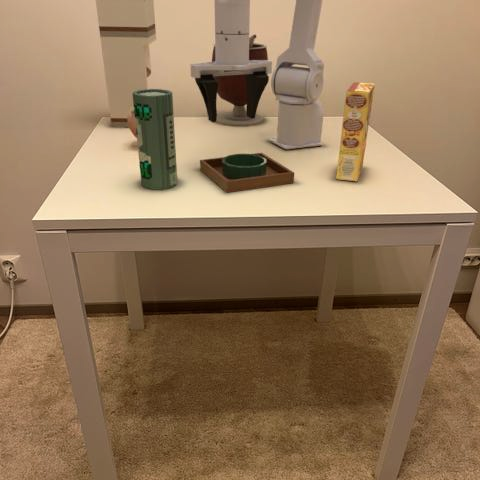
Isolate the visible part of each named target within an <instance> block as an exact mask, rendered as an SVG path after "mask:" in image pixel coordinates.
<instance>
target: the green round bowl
mask: <svg viewBox="0 0 480 480" xmlns="http://www.w3.org/2000/svg"><path fill="white" fill-rule="evenodd" d="M253 154H254V153H234V154H228V155H226V156H223V157H224V158H223V160H222V172H223V175H224V176H225V177H227V178H230V179H233V180H236V179H243V178H250V177H258V176H265V175H266V166H267V161H266V159H265V158H263V157H262V156H259V155H253Z"/></svg>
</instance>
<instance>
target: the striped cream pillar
mask: <svg viewBox="0 0 480 480" xmlns="http://www.w3.org/2000/svg"><path fill="white" fill-rule="evenodd" d="M95 6H96V13H97V21H98V23H97V24H98V30H99V38H100V44H101V53H102V62H103V69H104V77H105V83H106V84H105V86H106V92H107V101H108V109H109V117H110V125H111V128H129V125H128V121H127V117H128V113H129V111H130V109H131V108H132V107H133V106H134V104H133V94H132V93H133V92H134V91H138V90H144V89H149V86H148V85H149V84H148V78H149V77H150V76H151V75H152V66H151V65H152V64H151V52H150V44H152V43H153V42H154V43H155V41H157V32H156V31H157V29H156V17H155V15H156V14H155V2H154V0H95Z"/></svg>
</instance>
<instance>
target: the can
mask: <svg viewBox="0 0 480 480" xmlns="http://www.w3.org/2000/svg"><path fill="white" fill-rule="evenodd" d="M132 94H133V104H134V114H135V124H136V134H137V138H136V143H137V153H138V162H139V172H140V183H141V186H142V187H143V188H145V189H149V190H153V191H154V190H155V191H156V190H157V191H164V190H168V189H171V188H174V187H176V186H177V185H178V169H177V167H178V166H177V150H176V149H177V148H176V135H175V118H174V117H175V115H174V100H173V99H174V98H173V91H171V90H169V89H162V88H148V89H144V90H138V91H134V92H133V93H132Z"/></svg>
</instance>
